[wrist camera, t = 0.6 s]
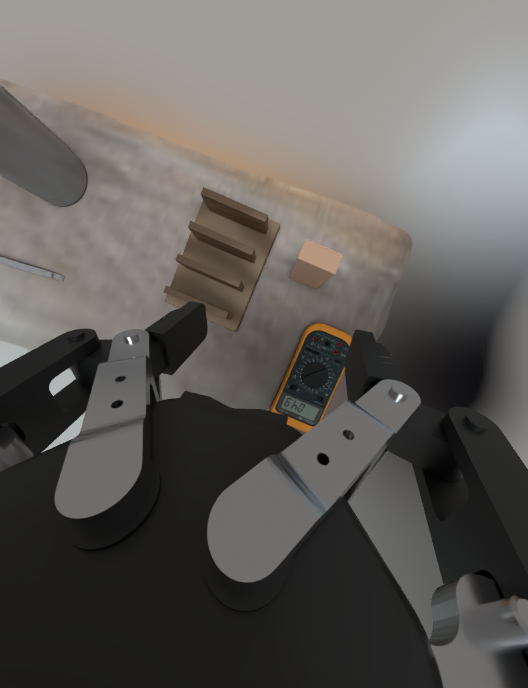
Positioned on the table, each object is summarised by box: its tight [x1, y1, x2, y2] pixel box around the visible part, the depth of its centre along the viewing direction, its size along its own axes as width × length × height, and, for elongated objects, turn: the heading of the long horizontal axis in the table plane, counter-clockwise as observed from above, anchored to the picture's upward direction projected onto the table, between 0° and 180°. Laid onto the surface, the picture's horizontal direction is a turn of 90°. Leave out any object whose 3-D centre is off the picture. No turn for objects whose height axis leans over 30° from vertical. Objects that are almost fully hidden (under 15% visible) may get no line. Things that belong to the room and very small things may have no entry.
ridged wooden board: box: [164, 187, 280, 331], centre depth 35 cm, size 19×13×6 cm
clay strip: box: [289, 239, 343, 289], centre depth 33 cm, size 2×5×11 cm, turn 67°
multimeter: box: [271, 323, 352, 433], centre depth 38 cm, size 9×18×3 cm, turn 157°
